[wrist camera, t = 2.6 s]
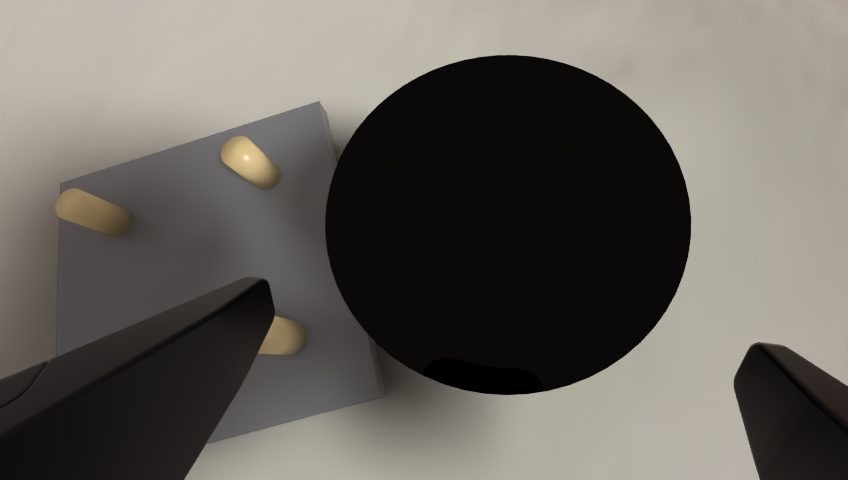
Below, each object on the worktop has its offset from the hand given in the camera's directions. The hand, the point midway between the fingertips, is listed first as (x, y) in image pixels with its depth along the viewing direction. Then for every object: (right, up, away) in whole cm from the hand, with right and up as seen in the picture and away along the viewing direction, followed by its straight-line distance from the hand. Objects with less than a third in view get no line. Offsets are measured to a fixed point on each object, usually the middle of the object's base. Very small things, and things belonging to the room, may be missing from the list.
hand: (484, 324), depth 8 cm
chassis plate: (-11, 0, +12) cm, 16 cm away
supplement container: (+2, -1, +10) cm, 10 cm away
